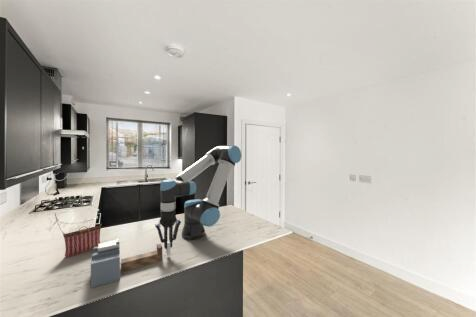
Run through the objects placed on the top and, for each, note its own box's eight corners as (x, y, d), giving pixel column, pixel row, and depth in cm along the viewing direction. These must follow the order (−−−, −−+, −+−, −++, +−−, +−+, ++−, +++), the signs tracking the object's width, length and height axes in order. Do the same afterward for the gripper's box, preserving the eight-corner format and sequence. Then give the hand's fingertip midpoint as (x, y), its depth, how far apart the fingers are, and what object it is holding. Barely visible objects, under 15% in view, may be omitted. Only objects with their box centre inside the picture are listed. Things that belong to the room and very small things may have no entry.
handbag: (52, 260, 98) (50, 211, 97) (101, 244, 114) (100, 202, 113) (54, 265, 94) (53, 214, 92) (105, 248, 110) (104, 205, 109)
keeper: (119, 246, 92) (119, 237, 92) (119, 251, 88) (119, 241, 88) (98, 251, 88) (98, 241, 88) (97, 256, 84) (97, 246, 83)
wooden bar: (160, 256, 102) (160, 243, 102) (162, 260, 99) (162, 246, 98) (121, 267, 92) (120, 253, 92) (121, 271, 89) (120, 257, 89)
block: (119, 261, 97) (119, 239, 97) (120, 279, 84) (119, 253, 83) (95, 267, 92) (94, 244, 91) (91, 288, 78) (90, 260, 78)
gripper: (178, 206, 108) (178, 247, 108) (153, 209, 101) (153, 253, 102) (182, 209, 101) (182, 253, 102) (156, 213, 94) (156, 260, 95)
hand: (168, 253), depth 102 cm, fingers closed
